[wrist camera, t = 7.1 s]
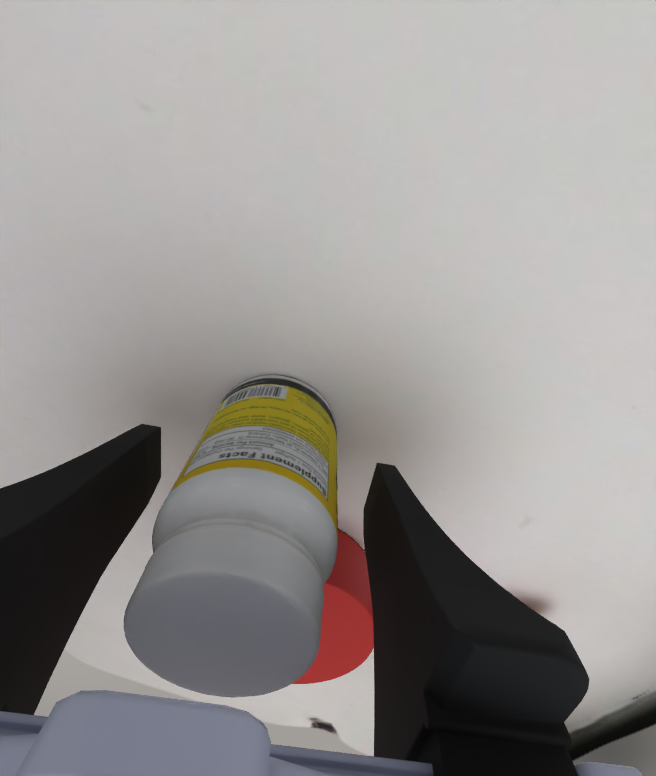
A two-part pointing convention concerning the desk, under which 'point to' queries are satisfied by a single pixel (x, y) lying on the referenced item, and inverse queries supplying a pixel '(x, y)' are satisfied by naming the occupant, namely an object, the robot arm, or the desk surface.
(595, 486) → the desk surface
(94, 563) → the robot arm
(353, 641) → the red handled disc
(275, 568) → the supplement bottle
